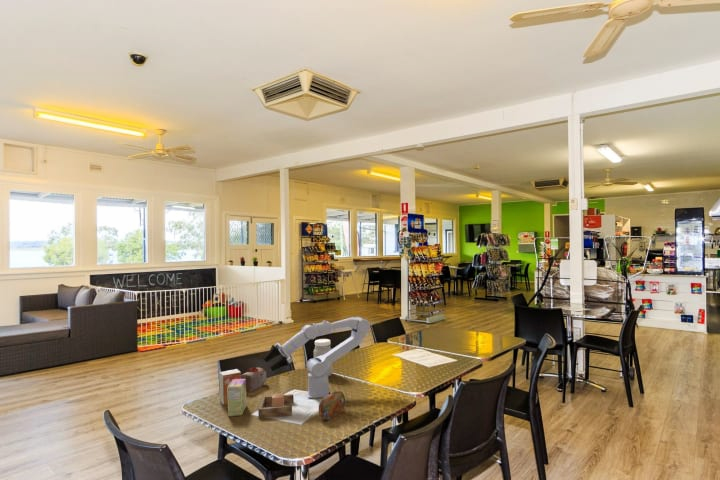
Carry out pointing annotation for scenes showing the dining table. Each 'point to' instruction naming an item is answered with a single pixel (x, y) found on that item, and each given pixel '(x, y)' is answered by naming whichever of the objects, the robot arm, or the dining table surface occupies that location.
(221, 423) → the dining table surface
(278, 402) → the block
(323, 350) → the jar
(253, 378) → the food item
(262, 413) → the open box
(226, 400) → the small box
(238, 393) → the box
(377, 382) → the dining table surface
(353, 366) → the dining table surface
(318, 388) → the robot arm
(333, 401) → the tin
